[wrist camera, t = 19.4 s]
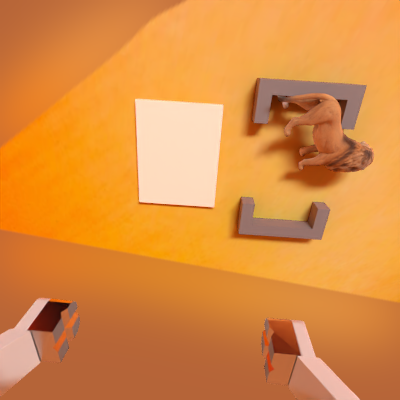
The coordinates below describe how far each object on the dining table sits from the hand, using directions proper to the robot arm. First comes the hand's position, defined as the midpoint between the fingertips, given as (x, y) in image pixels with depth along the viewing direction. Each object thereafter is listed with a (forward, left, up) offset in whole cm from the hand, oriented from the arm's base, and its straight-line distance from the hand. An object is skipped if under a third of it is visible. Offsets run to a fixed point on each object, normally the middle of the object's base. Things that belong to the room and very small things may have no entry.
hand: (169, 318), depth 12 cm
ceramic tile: (+2, 0, -25) cm, 25 cm away
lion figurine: (-11, -3, -24) cm, 26 cm away
